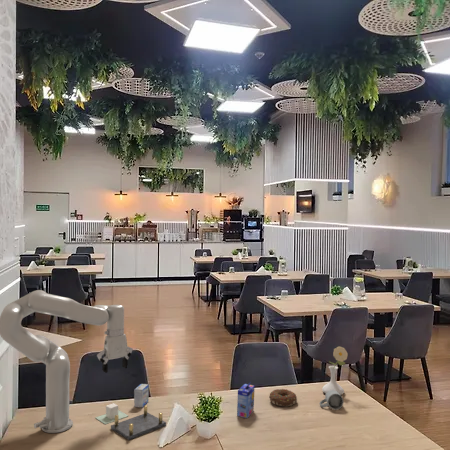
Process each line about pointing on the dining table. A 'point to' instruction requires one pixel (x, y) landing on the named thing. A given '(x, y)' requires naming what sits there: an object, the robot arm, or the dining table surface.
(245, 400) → the ink cartridge box
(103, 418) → the sage board
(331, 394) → the ceramic mug
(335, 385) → the flower in vase
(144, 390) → the medicine box
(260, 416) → the dining table surface
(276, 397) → the donut
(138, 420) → the chassis plate
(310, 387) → the dining table surface
